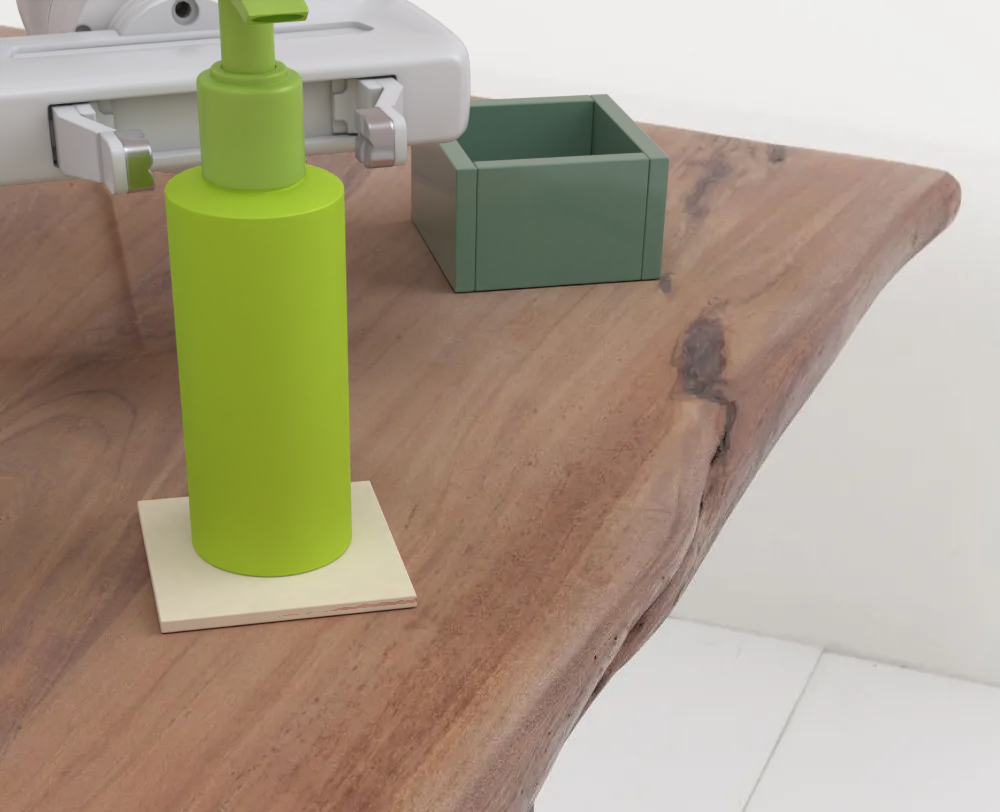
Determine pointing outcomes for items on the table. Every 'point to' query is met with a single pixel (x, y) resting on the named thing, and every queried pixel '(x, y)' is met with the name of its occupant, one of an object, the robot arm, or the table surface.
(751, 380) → the table surface
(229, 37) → the soap dispenser
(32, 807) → the table surface
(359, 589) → the mat
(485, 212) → the holder
